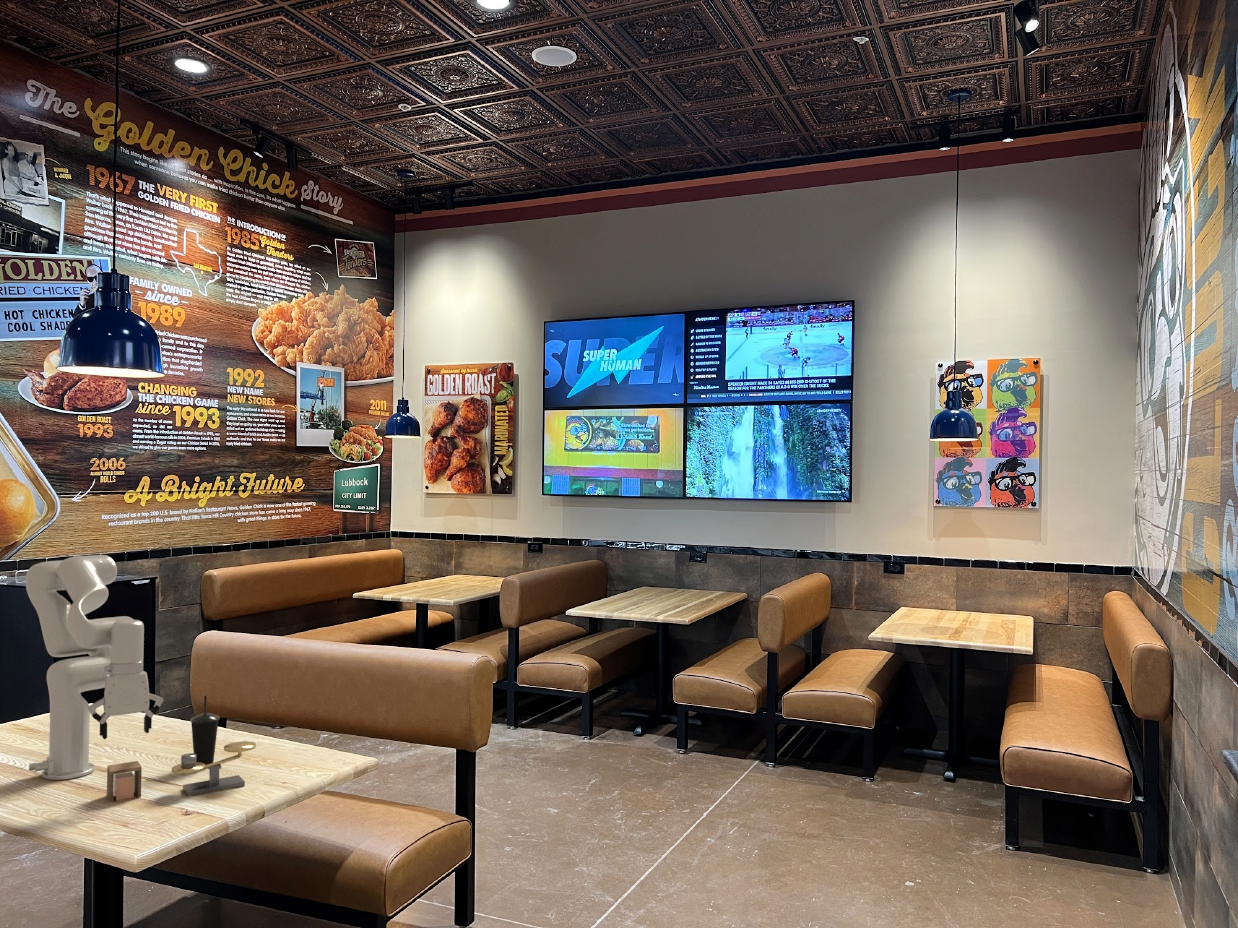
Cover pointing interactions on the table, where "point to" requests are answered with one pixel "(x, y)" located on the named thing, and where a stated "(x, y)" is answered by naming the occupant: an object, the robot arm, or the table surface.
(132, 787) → the block
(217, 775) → the balance
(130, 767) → the arch
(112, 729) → the table surface
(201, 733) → the drinking cup
